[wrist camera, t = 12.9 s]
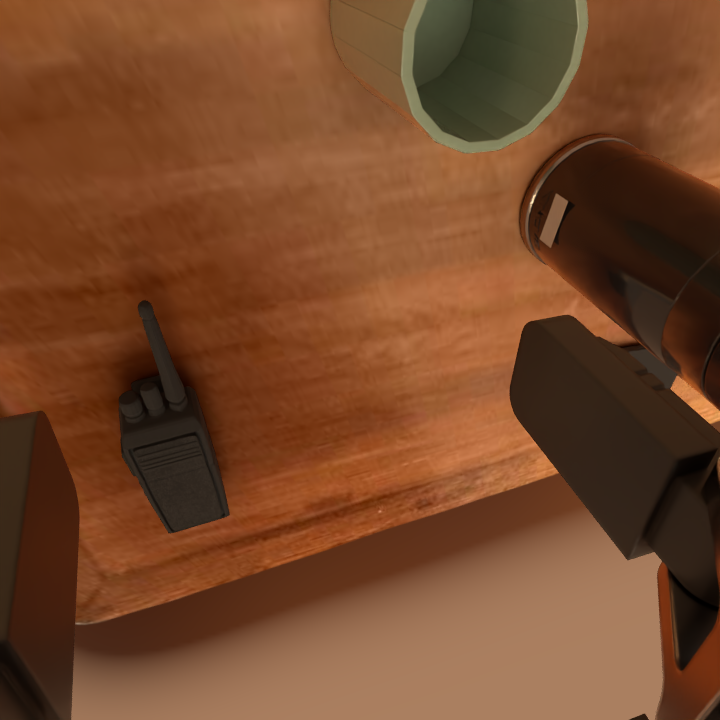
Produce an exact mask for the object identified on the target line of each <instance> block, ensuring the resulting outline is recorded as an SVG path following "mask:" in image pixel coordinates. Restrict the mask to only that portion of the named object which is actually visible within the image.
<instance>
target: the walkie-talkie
mask: <svg viewBox="0 0 720 720" xmlns="http://www.w3.org/2000/svg"><path fill="white" fill-rule="evenodd" d="M138 311H139V315H140V317H141V318H142V321H143V325H144V328H145V331H146V334H147V337H148V340H149V343H150V346H151V349H152V352H153V355H154V358H155V361H156V364H157V367H158V371H159V374H160V375H158V376H154V377H150V378H146V379H142V380H138V381H135V382H133V383H132V384H131V388H132V391H127V392H125V393H123V394H122V395H121V396H120V397H119V418H120V430H121V451H122V457H123V458H124V461H125V463H126V464H127V465H128V467H129V469H130V471H131V473H132V474H133V476H137V478H138V480H139V483H140V485H141V487H142V488H143V490H144V493H145V495H146V496H147V498H148V500H149V502H150V503H151V505H152V507H153V508H154V510H155V511H156V513H157V515H158V516H159V518H160V520H161V521H162V523H163V524H164V526H165V528H166V529H167V531H168V533H174V532H178V531H181V530H185V529H188V528H191V527H195V526H198V525H201V524H205V523H208V522H211V521H215V520H218V519H221V518H224V517H227V516H229V515H230V513H229V509H228V504H227V499H226V494H225V490H224V486H223V482H222V478H221V474H220V470H219V466H218V463H217V459H216V455H215V451H214V448H213V445H212V441H211V438H210V435H209V432H208V430H207V426H206V423H205V420H204V416H203V413H202V410H201V407H200V404H199V401H198V398H197V395H196V392H195V390H194V389H193V388H191V387H189V386H187V387H184V386H183V384H182V382H181V380H180V377H179V375H178V373H177V371H176V369H175V367H174V364H173V362H172V359H171V356H170V354H169V351H168V349H167V346H166V343H165V341H164V338H163V335H162V333H161V330H160V327H159V324H158V322H157V319H156V317H155V315H154V311H153V307H152V305H151V303H149V302H148V301H146V300H143V301H141V302H140V303H139V305H138Z"/></svg>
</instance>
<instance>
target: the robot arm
mask: <svg viewBox="0 0 720 720" xmlns="http://www.w3.org/2000/svg"><path fill="white" fill-rule="evenodd" d="M520 229H521V235H522V238H523V241H524V243H525V245H526V247H527V248H528V250H529V251H530V252H531V253H532V254H533V255H534V256H535V257H536V258H538V259H539V260H540V261H541V262H543V263H544V264H546V265H548V266H549V267H551V268H552V269H553V270H554V271H555V272H556V273H558V274H559V275H560V276H561V277H562V278H563V279H564V280H566V281H567V282H568V283H569V284H570V285H571V286H573V287H574V288H575V289H576V290H577V291H579V292H580V293H581V294H582V295H583V296H584V297H586V298H587V299H588V300H589V301H590V302H592V303H593V304H594V305H595V306H596V307H597V308H599V309H600V310H601V311H602V312H603V313H605V314H606V315H607V316H608V317H609V318H610V319H612V320H613V321H614V322H615V323H616V324H618V325H619V326H620V327H621V328H622V329H624V330H625V331H626V332H627V333H628V334H629V335H631V336H632V337H633V338H634V339H635V340H637V341H638V342H639V343H640V344H641V345H642V346H644V347H645V348H646V349H647V350H648V351H650V352H651V353H652V354H653V355H654V356H655V357H657V358H658V359H659V360H660V361H661V362H663V363H664V364H665V365H666V366H667V367H668V368H670V369H671V370H672V371H674V372H675V373H676V374H677V375H678V376H679V377H681V378H682V379H683V380H684V381H685V382H687V383H688V384H689V385H690V386H691V387H692V388H694V389H695V390H696V391H697V392H698V393H700V394H701V395H702V396H703V397H704V398H705V399H707V400H708V401H709V402H710V403H711V404H713V405H714V406H715V407H716V408H717V409H719V410H720V189H719V188H717V187H715V186H713V185H711V184H709V183H707V182H705V181H703V180H701V179H699V178H696V177H694V176H692V175H690V174H688V173H686V172H684V171H682V170H680V169H678V168H676V167H674V166H672V165H670V164H668V163H666V162H663V161H661V160H660V159H658V158H656V157H654V156H652V155H649V154H647V153H645V152H643V151H641V150H639V149H637V148H636V147H634V146H633V145H632V144H630V143H629V142H627V141H625V140H623V139H620V138H618V137H616V136H612V135H607V134H597V135H591V136H587V137H584V138H581V139H578V140H576V141H574V142H572V143H571V144H569V145H567V146H566V147H564V148H563V149H561V150H560V151H559V152H557V153H556V154H555V155H554V156H553V157H552V158H551V159H550V160H549V161H548V162H547V163H546V164H545V165H544V166H543V167H542V169H541V170H540V171H539V172H538V174H537V175H536V177H535V178H534V180H533V182H532V183H531V185H530V187H529V189H528V191H527V194H526V196H525V199H524V202H523V206H522V210H521V217H520ZM664 385H665V384H664V383H663V382H662V381H660V380H659V379H658V378H657V377H656V376H655V375H654V374H652V373H648V372H647V368H646V367H644V366H643V365H642V364H641V363H640V362H639V361H638V360H637V359H635V358H634V357H633V356H632V355H631V354H630V353H629V352H627V351H626V350H624V349H622V348H620V347H618V346H616V345H614V344H612V343H610V342H609V341H607V340H605V339H603V338H601V337H596V336H595V335H593V334H592V333H591V332H590V331H589V330H588V329H587V328H586V327H585V326H584V325H582V324H581V323H580V322H579V321H578V320H577V319H576V318H574V317H573V316H571V315H562V316H557V317H552V318H546V319H541V320H535V321H530V322H528V323H527V324H526V325H525V326H524V328H523V331H522V334H521V339H520V343H519V348H518V352H517V357H516V361H515V366H514V371H513V375H512V380H511V384H510V401H511V405H512V408H513V411H514V414H515V415H516V417H517V419H518V420H519V422H520V423H521V424H522V426H523V427H524V428H525V429H526V431H527V432H528V433H529V435H530V436H531V437H532V438H533V440H534V441H535V442H536V444H537V445H538V446H539V447H540V449H541V450H542V451H543V452H544V454H545V455H546V456H547V458H548V459H549V460H550V461H551V463H552V464H553V465H554V467H555V468H556V469H557V470H558V472H559V473H560V474H561V476H562V477H563V478H564V479H565V481H566V482H567V483H568V484H569V486H570V487H571V488H572V489H573V491H574V492H575V493H576V495H577V496H578V497H579V499H580V500H581V501H582V502H583V504H584V505H585V506H586V508H587V509H588V510H589V511H590V513H591V514H592V515H593V517H594V518H595V519H596V520H597V522H598V523H599V524H600V525H601V527H602V528H603V529H604V531H605V532H606V533H607V534H608V536H609V537H610V538H611V540H612V541H613V542H614V543H615V545H616V546H617V547H618V548H619V550H620V551H621V552H622V554H623V555H624V556H625V558H626V559H627V560H630V559H633V558H637V557H639V556H643V555H646V554H649V553H652V552H655V553H656V554H657V555H658V557H659V558H660V559H661V560H662V563H661V564H660V566H659V569H658V573H657V580H658V599H659V616H660V633H661V651H662V668H663V685H662V693H661V698H660V701H659V704H658V708H657V712H656V717H655V720H720V433H719V432H718V431H717V430H716V429H715V428H714V427H713V426H711V425H710V424H709V423H708V422H707V421H706V420H705V419H703V418H702V417H701V416H700V415H699V414H698V413H697V412H696V411H694V410H693V409H692V408H691V407H690V406H689V405H688V404H686V403H685V402H684V401H683V400H682V399H681V398H680V397H679V396H677V395H676V394H675V393H674V392H673V391H672V390H671V389H669V388H667V389H666V388H665V386H664ZM78 541H79V506H78V499H77V493H76V489H75V485H74V482H73V479H72V476H71V474H70V471H69V469H68V467H67V464H66V462H65V459H64V457H63V454H62V452H61V449H60V447H59V444H58V442H57V439H56V437H55V434H54V432H53V429H52V427H51V424H50V422H49V420H48V418H47V416H46V414H45V413H44V412H43V411H36V412H31V413H26V414H20V415H15V416H9V417H4V418H0V720H71V708H72V684H73V660H74V636H75V613H76V589H77V565H78ZM630 720H649V719H648V718H647V716H646V715H645V714H642V715H640V716H637V717H635V718H632V719H630Z"/></svg>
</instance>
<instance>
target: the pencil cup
mask: <svg viewBox="0 0 720 720" xmlns="http://www.w3.org/2000/svg"><path fill="white" fill-rule="evenodd" d="M588 22H589V21H588V10H587V0H331V2H330V25H331V32H332V37H333V41H334V44H335V47H336V50H337V52H338V55H339V57H340V59H341V61H342V62H343V64H344V66H345V67H346V69H347V70H348V71H349V72H350V74H351V75H352V76H353V77H354V78H355V79H356V80H357V81H358V82H359V83H360V84H361V85H362V86H363V87H364V88H365V89H367V90H368V91H369V92H370V93H372V94H373V95H374V96H376V97H377V98H378V99H380V100H381V101H382V102H384V103H385V104H386V105H388V106H389V107H390V108H392V109H393V110H394V111H396V112H397V113H398V114H399V115H401V116H402V117H403V118H405V119H406V120H407V121H409V122H410V123H411V124H413V125H414V126H415V127H417V128H418V129H419V130H421V131H422V132H423V133H425V134H426V135H427V136H428V137H430V138H431V139H432V140H434V141H435V142H436V143H439V144H442V145H444V146H447V147H449V148H452V149H455V150H457V151H460V152H462V153H477V152H487V151H497V150H501V149H502V148H504V147H506V146H508V145H510V144H512V143H514V142H516V141H518V140H519V139H521V138H523V137H525V136H527V135H529V134H530V133H532V132H533V131H534V130H535V129H536V128H537V127H538V126H539V125H540V124H541V123H542V122H543V121H544V120H545V118H546V117H547V116H548V115H549V114H550V113H551V112H552V111H553V110H554V109H555V108H556V107H557V106H558V104H559V103H560V102H561V100H562V98H563V96H564V94H565V92H566V90H567V89H568V87H569V85H570V83H571V81H572V79H573V77H574V76H575V74H576V72H577V70H578V68H579V67H578V66H579V65H580V61H581V56H582V52H583V47H584V43H585V38H586V34H587V29H588Z"/></svg>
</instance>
